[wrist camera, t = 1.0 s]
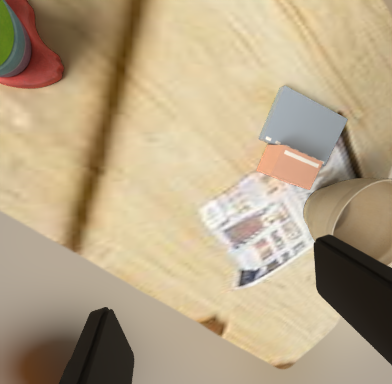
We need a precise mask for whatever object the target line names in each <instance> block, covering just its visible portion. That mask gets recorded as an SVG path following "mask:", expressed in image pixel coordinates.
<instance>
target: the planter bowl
mask: <svg viewBox="0 0 392 384" xmlns="http://www.w3.org/2000/svg"><path fill="white" fill-rule="evenodd" d="M303 215H304V220H305V222H306V224H307V225H308V228H309V231H310V233H311V235H312V237H313V239H314V241H315V242H316V238H319V237H322V236H325V235H328V234H330V235H333V236H335V237H336V238H338V239H340V240H342V241H344V242H345V243H347V244H349V245H351V246H353V247H354V248H356V249H358V250H360V251H362V252H364V253H365V254H367V255H369V256H371V257H373V258H374V259H376V260H378V261H380V262H382V263H383V264H385V265H387V266H390V265H391V264H392V179H375V178H357V179H350V180H345V181H341V182H338V183H335V184H332V185H330V186H328V187H323V188H321V189H318V190H317V191H315V192H314V193H313V194H312V195H311V196H310V197H309V198H308V200H307V201H306V203H305V206H304V212H303Z"/></svg>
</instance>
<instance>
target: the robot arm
mask: <svg viewBox="0 0 392 384" xmlns="http://www.w3.org/2000/svg"><path fill="white" fill-rule="evenodd" d="M314 259H315V273H316V287H317V291H318V293H319V294H320V295H321V297H322V298H323V299H325V300H326V301H327V302H328V303H329V304H330V305H331V306H332V307H333V308H334V309H335V310H336V311H337V312H338V313H339V314H340V315H341V316H342V317H343V318H344V319H345V320H346V321H347V322H348V323H349V324H350V325H351V326H352V327H353V328H354V329H355V330H356V331H357V332H358V333H359V334H360V335H361V336H362V337H363V338H364V339H366V340H367V341H368V342H369V343H370V344H371V345H372V346H373V347H374V348H375V349H376V350H377V351H378V352H379V353H380V354H381V355H382V356H383V357H384V358H385V359H386V360H387V361H388V362H389V363H390V364H391V365H392V268H391V267H389V266H387V265H385V264H383V263H382V262H380V261H378V260H376V259H374V258H373V257H371V256H369V255H367V254H365V253H364V252H362V251H360V250H358V249H356V248H354V247H353V246H351V245H349V244H347V243H345V242H344V241H342V240H340V239H338V238H336V237H335V236H333V235H330V234H328V235H325V236H322V237H319V238H316V242H315V243H314ZM133 368H134V355H133V352H132V350H131V347H130V346H129V343H128V341H127V339H126V337H125V335H124V333H123V331H122V328H121V326H120V324H119V322H118V320H117V318H116V316H115V314H114V311H113V310H112V309H110V310H109V309H108V308H107V307H104V308H102V309H98V310H95V311H92V312H91V313H90V315H89V317H88V319H87V321H86V324H85V326H84V329H83V331H82V333H81V336H80V338H79V340H78V343H77V345H76V348H75V350H74V353H73V355H72V357H71V359H70V360H69V362H68V364H67V366H66V368H65V370H64V373H63V375H62V377H61V380H60V382H59V384H132V376H133Z"/></svg>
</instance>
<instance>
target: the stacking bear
mask: <svg viewBox="0 0 392 384" xmlns="http://www.w3.org/2000/svg"><path fill="white" fill-rule="evenodd" d="M63 70H64V66H63V65H62V63H61V59H60V57H59V56H58V55H57V54H56V53H55V52H53V51H52V50H50V49H49V48H48V47H47V46H46V45H45V44H44V43H43V42H42V40H41V39H40V37H39V35H38V33H37V30H36V27H35V14H34V10H33V8H32V7H31V6H30V5H29V3H28V1H27V0H0V83H1V84H3V85H7V86H11V87H17V88H40V87H44V86H48V85H50V84H53V83H55V82H57V81H58V80H60V79H61V78H62V72H63Z"/></svg>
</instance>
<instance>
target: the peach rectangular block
mask: <svg viewBox="0 0 392 384" xmlns="http://www.w3.org/2000/svg"><path fill="white" fill-rule="evenodd" d="M322 164H323V162H321V161H319V160H317V159H315V158H312V157H310V156H308V155H306V154H303V153H301V152H299V151H297V150H294V149H292V148H290V147H287V146H285V145H267V147H266V149H265V151H264V154H263V156H262V158H261V161H260V163H259V165H258V168H257V170H256V171H258V172H261V173H264V174H266V175H269V176H271V177H274V178H277V179H279V180H282V181H284V182H287V183H289V184H292V185H295V186H299V187H302V188H305V189H308V190H310V188H311V186H312V184H313V182H314V180H315V178H316V176H317V174H318V172H319V170H320V168H321V166H322Z"/></svg>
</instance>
